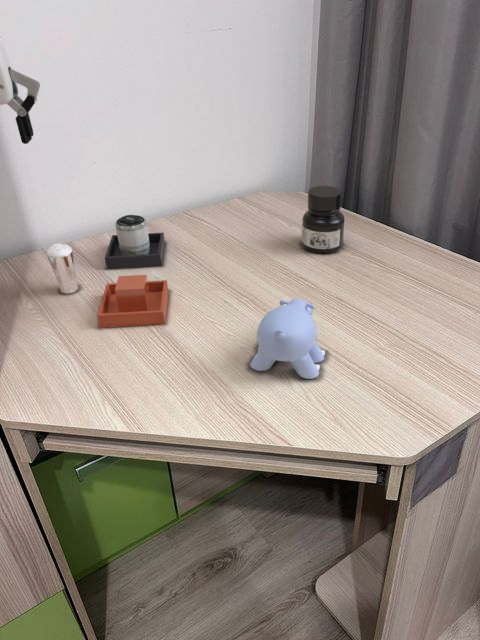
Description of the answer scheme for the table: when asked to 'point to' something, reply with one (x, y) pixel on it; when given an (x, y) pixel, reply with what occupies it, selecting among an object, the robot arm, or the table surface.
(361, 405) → the table surface
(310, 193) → the ink bottle
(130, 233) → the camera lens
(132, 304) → the terracotta block
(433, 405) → the table surface
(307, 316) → the hippopotamus toy
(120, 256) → the charcoal tray
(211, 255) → the table surface
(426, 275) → the table surface
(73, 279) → the milkshake
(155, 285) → the terracotta tray
